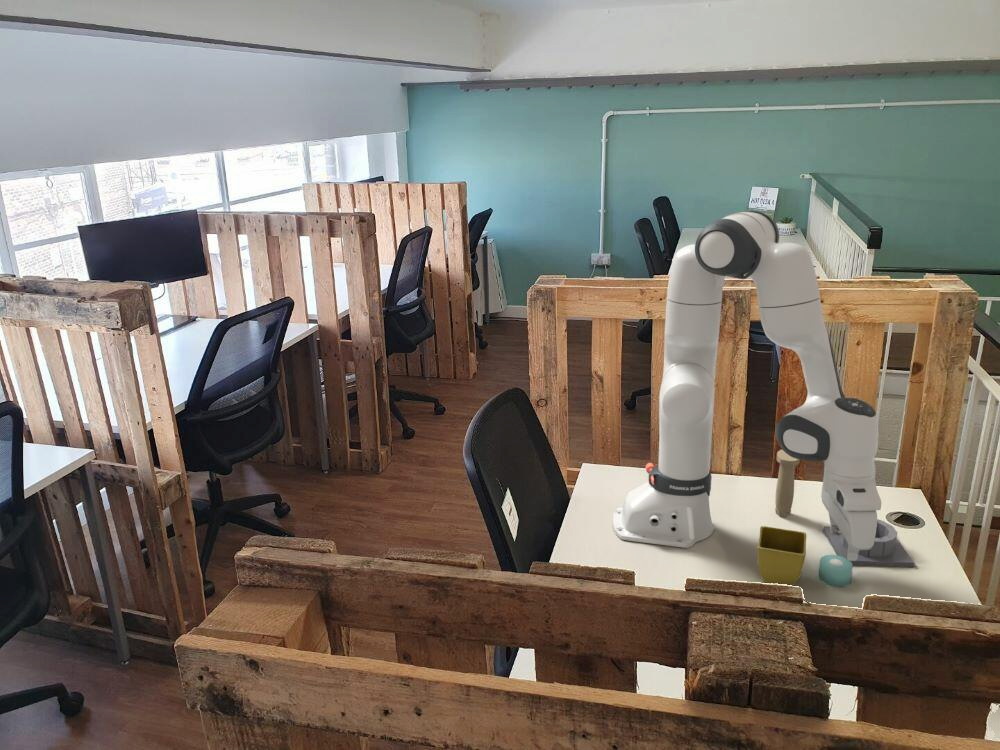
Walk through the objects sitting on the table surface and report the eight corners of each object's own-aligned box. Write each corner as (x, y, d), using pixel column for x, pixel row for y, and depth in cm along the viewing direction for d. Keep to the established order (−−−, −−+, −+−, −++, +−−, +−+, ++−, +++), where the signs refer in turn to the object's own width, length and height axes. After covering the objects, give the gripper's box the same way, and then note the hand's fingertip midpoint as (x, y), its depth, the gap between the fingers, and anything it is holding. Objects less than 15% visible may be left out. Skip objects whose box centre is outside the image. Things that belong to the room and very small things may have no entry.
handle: (771, 519, 177) (776, 459, 172) (772, 506, 183) (777, 448, 178) (793, 522, 175) (799, 462, 171) (793, 509, 181) (799, 450, 176)
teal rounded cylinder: (823, 586, 152) (824, 570, 150) (814, 569, 157) (816, 553, 156) (854, 587, 151) (857, 571, 150) (845, 570, 156) (847, 554, 155)
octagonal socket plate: (842, 564, 158) (844, 545, 157) (822, 530, 172) (824, 511, 170) (914, 566, 157) (917, 547, 155) (888, 531, 170) (891, 513, 169)
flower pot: (801, 595, 149) (805, 554, 146) (754, 587, 152) (757, 547, 149) (802, 571, 157) (806, 532, 154) (757, 563, 160) (760, 525, 157)
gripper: (815, 459, 157) (811, 519, 161) (848, 507, 138) (842, 574, 142) (848, 459, 156) (843, 519, 161) (885, 506, 137) (878, 574, 141)
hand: (843, 545), depth 151 cm, fingers open, 8 cm apart
